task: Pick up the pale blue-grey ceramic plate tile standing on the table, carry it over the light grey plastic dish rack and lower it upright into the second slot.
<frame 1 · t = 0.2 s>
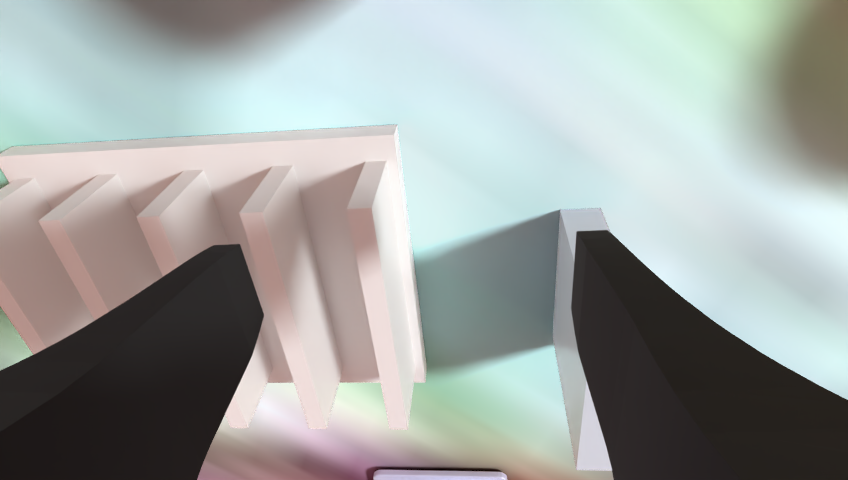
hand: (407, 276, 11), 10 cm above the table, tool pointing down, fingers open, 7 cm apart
plate tile: (574, 277, 23), on the table
dish rack: (242, 268, 24), on the table
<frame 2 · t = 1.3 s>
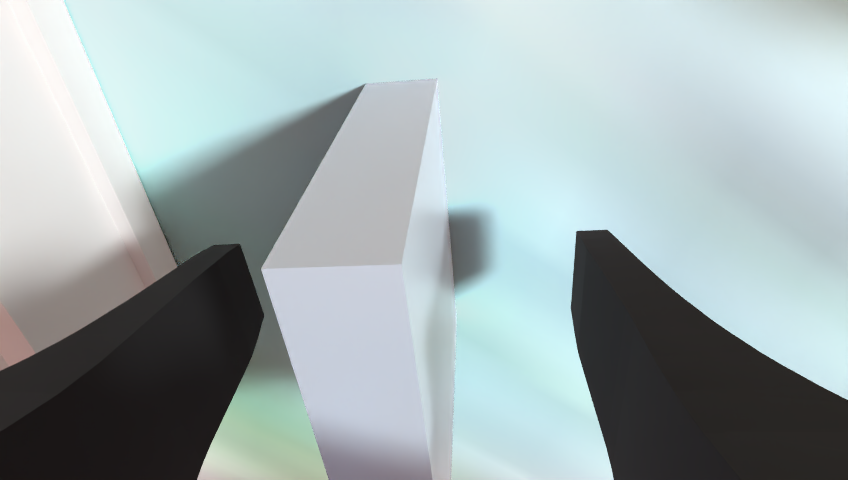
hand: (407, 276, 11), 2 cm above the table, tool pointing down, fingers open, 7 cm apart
plate tile: (417, 216, 14), on the table
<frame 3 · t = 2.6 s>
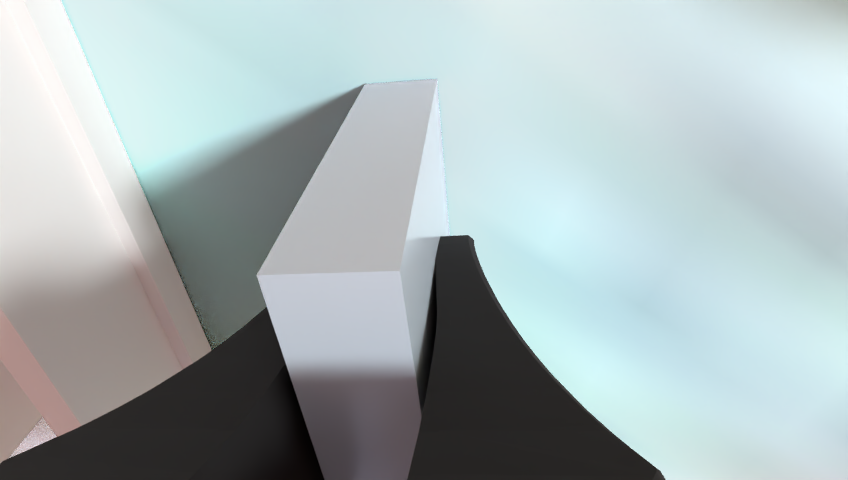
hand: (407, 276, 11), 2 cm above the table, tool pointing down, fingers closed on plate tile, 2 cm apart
plate tile: (417, 218, 13), on the table, touching gripper
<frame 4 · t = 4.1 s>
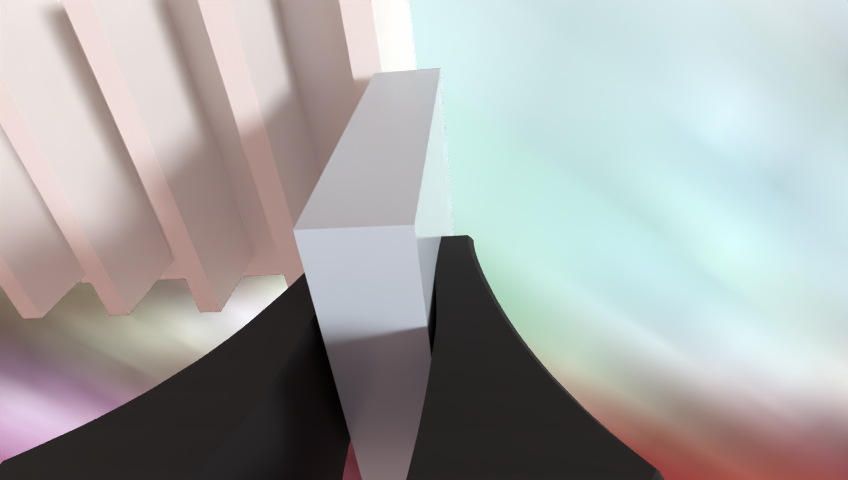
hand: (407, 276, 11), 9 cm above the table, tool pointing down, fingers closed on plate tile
plate tile: (422, 198, 15), point 6 cm above the table, touching gripper
dish rack: (212, 122, 20), on the table
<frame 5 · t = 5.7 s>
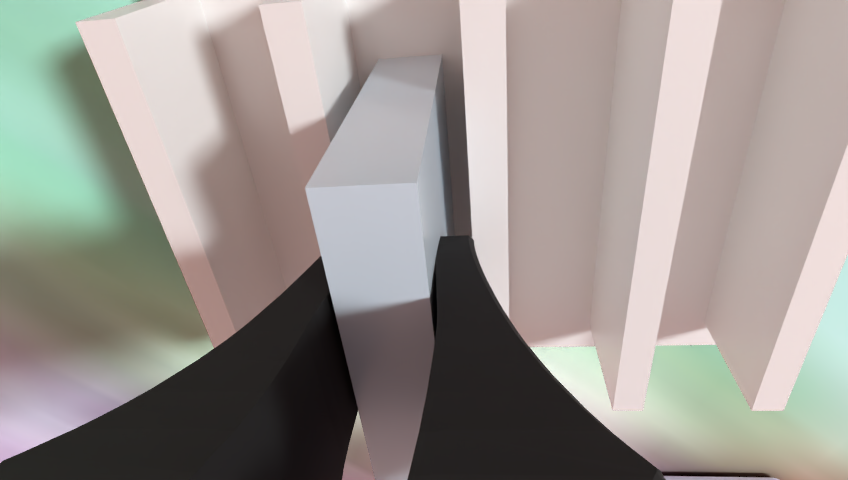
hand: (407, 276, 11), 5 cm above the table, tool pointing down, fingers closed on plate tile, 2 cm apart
plate tile: (423, 181, 15), point 1 cm above the table, touching dish rack, gripper
dish rack: (486, 165, 16), on the table
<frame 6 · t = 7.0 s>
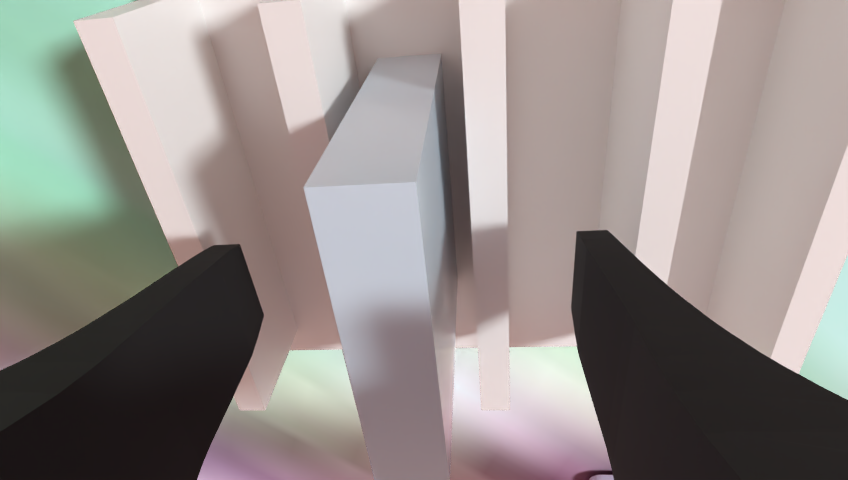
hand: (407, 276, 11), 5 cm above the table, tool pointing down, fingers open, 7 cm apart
plate tile: (422, 181, 15), point 1 cm above the table, touching dish rack
dish rack: (486, 164, 16), on the table
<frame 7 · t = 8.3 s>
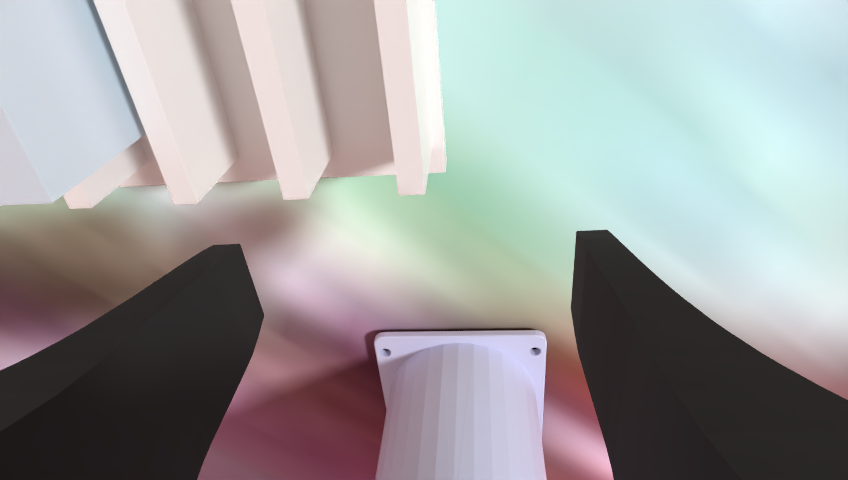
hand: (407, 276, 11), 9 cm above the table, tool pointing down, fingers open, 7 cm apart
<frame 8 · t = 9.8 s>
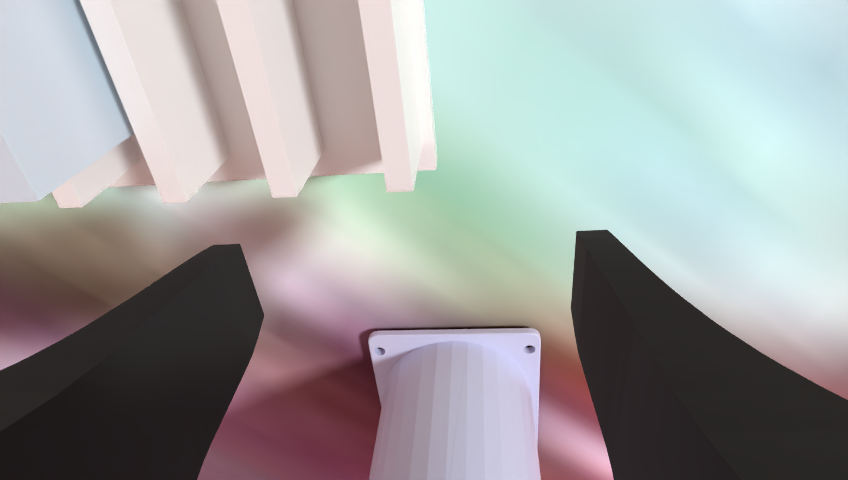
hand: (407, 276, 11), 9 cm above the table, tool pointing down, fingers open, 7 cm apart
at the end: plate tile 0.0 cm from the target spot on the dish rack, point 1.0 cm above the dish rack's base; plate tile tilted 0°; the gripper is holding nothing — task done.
